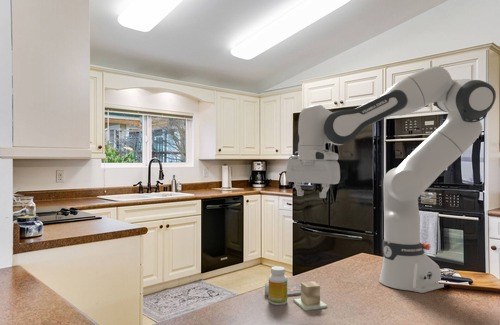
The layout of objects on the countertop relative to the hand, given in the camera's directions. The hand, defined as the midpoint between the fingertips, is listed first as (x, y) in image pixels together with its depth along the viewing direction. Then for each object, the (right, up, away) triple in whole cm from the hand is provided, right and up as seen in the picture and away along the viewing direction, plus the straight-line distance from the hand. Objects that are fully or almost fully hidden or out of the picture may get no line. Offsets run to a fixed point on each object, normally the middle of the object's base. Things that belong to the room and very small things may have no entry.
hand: (311, 196), depth 117 cm
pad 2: (-3, -29, -16) cm, 33 cm away
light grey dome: (-13, -29, -9) cm, 33 cm away
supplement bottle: (-12, -29, -15) cm, 35 cm away
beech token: (-3, -28, -16) cm, 33 cm away
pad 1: (-7, -29, -6) cm, 30 cm away
